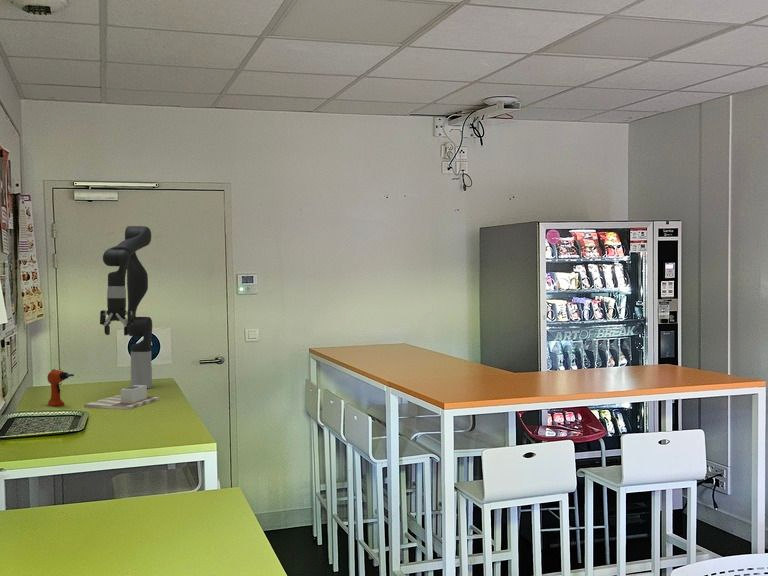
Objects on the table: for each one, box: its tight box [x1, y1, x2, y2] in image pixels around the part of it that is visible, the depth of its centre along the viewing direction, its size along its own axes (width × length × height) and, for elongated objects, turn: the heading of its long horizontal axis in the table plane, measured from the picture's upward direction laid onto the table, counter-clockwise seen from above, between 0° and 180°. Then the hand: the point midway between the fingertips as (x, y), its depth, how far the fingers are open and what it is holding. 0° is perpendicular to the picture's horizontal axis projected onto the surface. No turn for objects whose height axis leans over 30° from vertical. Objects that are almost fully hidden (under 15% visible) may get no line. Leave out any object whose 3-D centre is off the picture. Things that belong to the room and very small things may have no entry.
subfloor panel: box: [83, 394, 160, 411], centre depth 319 cm, size 24×20×1 cm
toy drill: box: [47, 368, 75, 408], centre depth 311 cm, size 5×19×15 cm, turn 51°
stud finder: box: [120, 385, 148, 403], centre depth 318 cm, size 12×5×6 cm, turn 168°
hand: (116, 335), depth 328 cm, fingers open, 8 cm apart
